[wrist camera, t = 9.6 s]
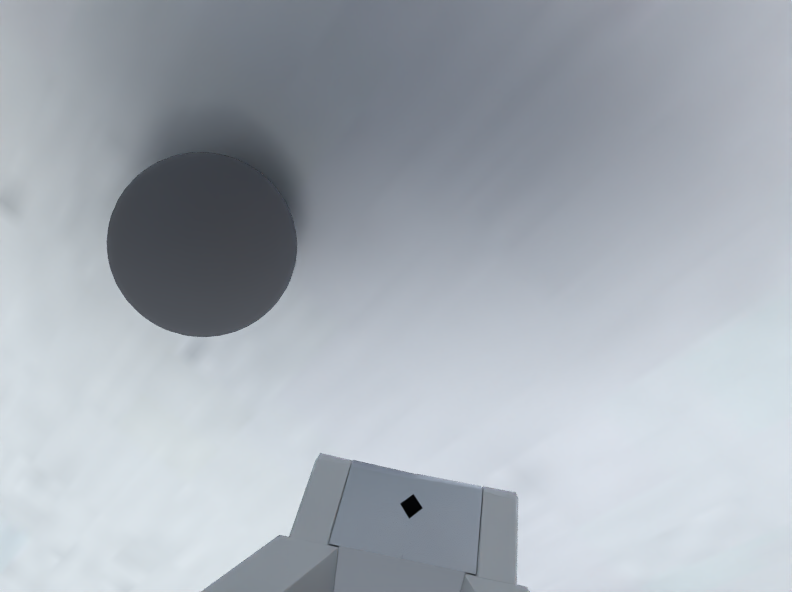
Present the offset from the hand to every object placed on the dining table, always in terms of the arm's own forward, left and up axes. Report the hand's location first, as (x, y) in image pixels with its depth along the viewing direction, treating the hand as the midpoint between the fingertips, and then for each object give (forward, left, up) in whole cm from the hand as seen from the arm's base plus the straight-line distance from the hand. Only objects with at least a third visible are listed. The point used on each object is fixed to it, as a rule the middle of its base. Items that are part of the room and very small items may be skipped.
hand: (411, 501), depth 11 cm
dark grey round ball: (+3, -7, -11) cm, 14 cm away
